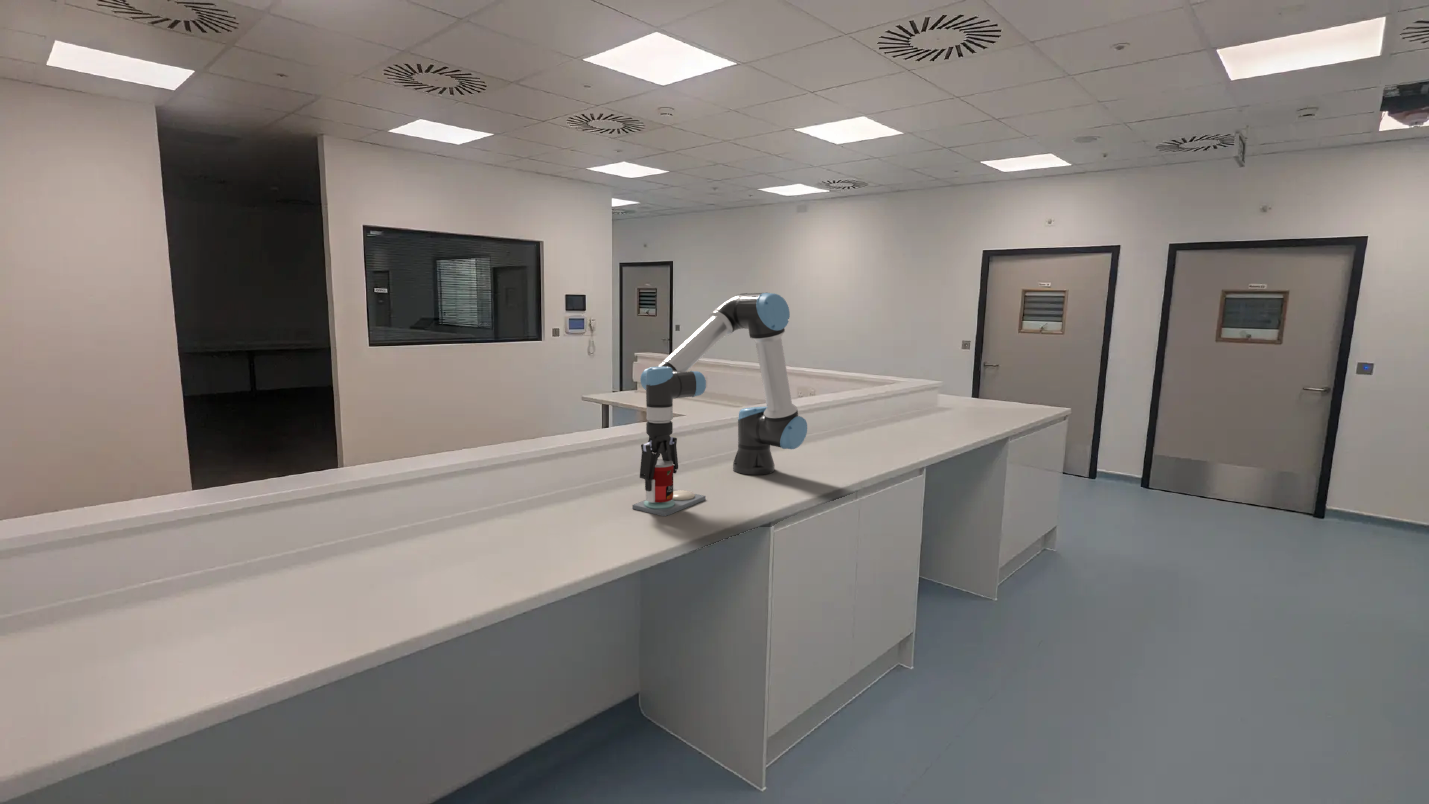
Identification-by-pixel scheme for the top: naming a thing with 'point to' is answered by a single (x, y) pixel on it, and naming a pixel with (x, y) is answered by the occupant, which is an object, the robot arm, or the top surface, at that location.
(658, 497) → the canned food
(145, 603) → the top surface
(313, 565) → the top surface
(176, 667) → the top surface
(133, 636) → the top surface
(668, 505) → the pad
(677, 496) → the board
